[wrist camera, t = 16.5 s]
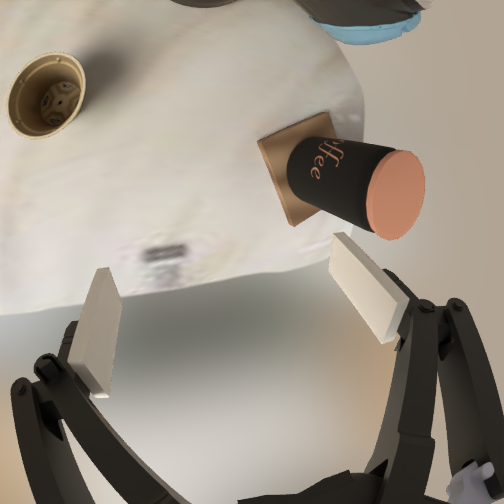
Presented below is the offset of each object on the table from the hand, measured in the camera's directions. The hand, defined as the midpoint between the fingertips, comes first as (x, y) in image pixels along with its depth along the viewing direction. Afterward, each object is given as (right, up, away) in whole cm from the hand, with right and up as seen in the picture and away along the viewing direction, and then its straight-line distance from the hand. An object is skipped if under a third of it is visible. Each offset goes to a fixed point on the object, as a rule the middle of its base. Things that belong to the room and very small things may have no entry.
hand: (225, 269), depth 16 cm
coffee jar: (+11, +14, +27) cm, 33 cm away
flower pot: (-23, +20, +10) cm, 32 cm away
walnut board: (+10, +15, +28) cm, 34 cm away
